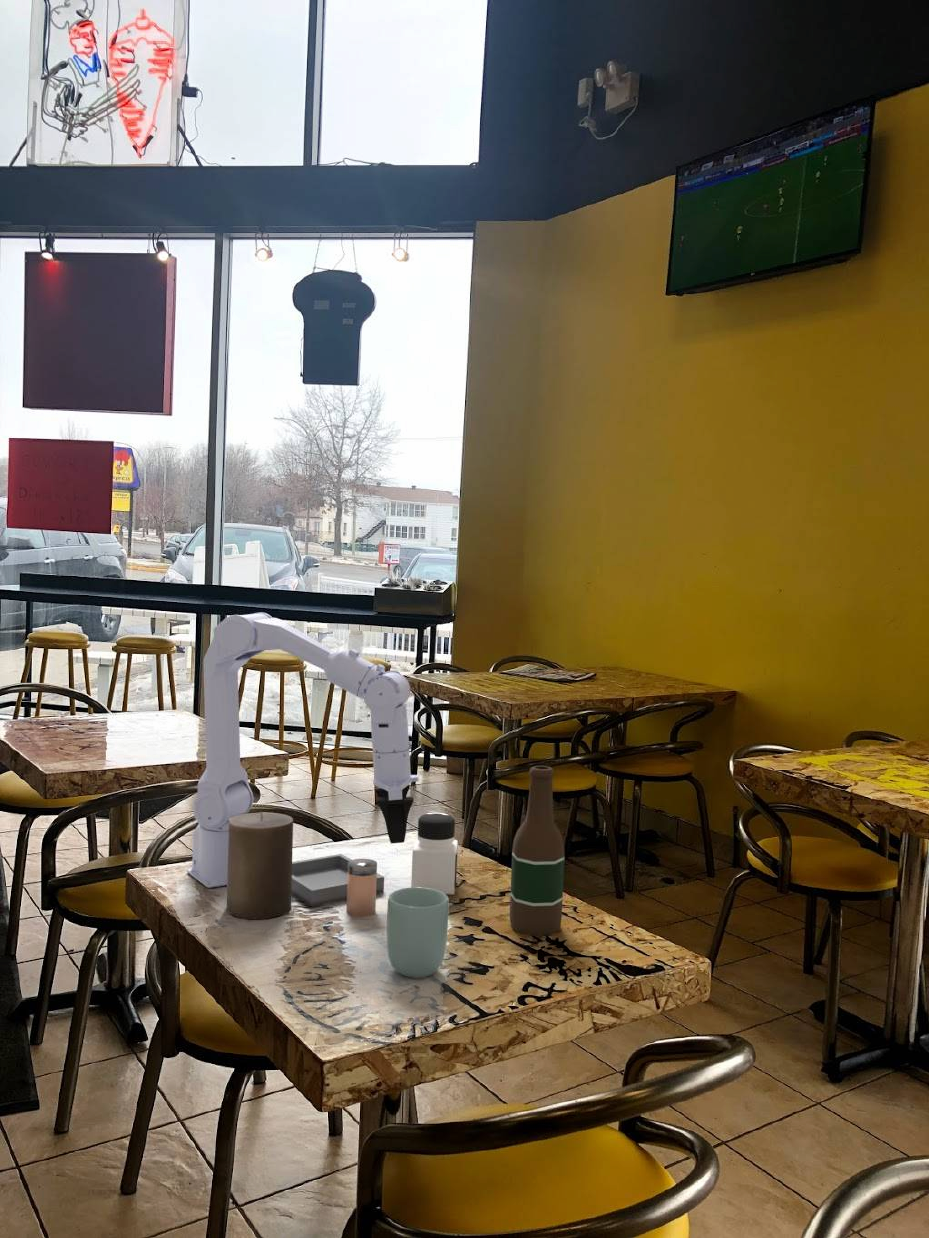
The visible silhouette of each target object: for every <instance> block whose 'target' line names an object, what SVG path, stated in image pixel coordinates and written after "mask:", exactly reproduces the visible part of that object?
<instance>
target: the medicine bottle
mask: <svg viewBox="0 0 929 1238" xmlns="http://www.w3.org/2000/svg"><path fill="white" fill-rule="evenodd" d="M417 823H418V824H417V838H415V840H414V844H413V849H412V856H411V857H412V858H411V859H412V860H411V881H410V882H411V883H410V884H411V886H410V888H411V887H423V888H430V889H434V890H438V891H440V892H443V893H444V894H446V895H447V896H448V895H451V896H452V895H455V894H456V890H457V889H456V888H457V886H456V885H457V875H458V874H457V871H458V868H457V867H458V866H457V865H458V851H459V850H458V845H459V841H458V840H457V839H455V833H456V832H455V829H456V819H455V818H454V817H453V816H452V815H449V814H447V813H444V812H428V813H425V814H423V815H421V816H419V818H418V820H417Z"/></svg>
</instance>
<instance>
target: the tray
mask: <svg viewBox="0 0 929 1238" xmlns="http://www.w3.org/2000/svg"><path fill="white" fill-rule="evenodd" d="M351 860H353V859H352V858H350V857H348V856H346V855H345V854H342V853H339V854H334V855H325V856H321V857H320V856H319V857H315V858H309V859H303V860H298V861H297V860H296V861H292V892H291V895H293V896H295V897H296V898H297V899H299V900H301V901H302V902H304V903H305V904H307V905H308V906H310V907H316V906H321V905H326V904H331V903H337V902H341V901H347V878H348V862H349V861H351ZM384 892H385V876H383V875H381V874H380V873H378V872H377V880H376V895H377V894H382V893H384Z"/></svg>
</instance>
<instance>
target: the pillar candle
mask: <svg viewBox="0 0 929 1238" xmlns="http://www.w3.org/2000/svg"><path fill="white" fill-rule="evenodd" d="M293 838H294V819H293V817H292V816H290V815H287V814H284V813H283V814H282V813H277V812H263V811H260V812H251V813H249V812H248V813H246V814H242V815H238V816H235V817H233V818H230V819H229V838H228V839H229V841H228V865H227V868H228V871H227V885H226V911H227V913H229V915H232V916H234V917H238V918H243V919H246V920H247V919H250V920H265V919H272V918H275V917H281V916H283V915H286V914H287V913H289V912H290V910H291V909H292V893H291V892H292V862H293V846H294V845H293V843H294V842H293V840H294V839H293Z"/></svg>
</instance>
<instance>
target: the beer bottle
mask: <svg viewBox="0 0 929 1238" xmlns="http://www.w3.org/2000/svg"><path fill="white" fill-rule="evenodd" d="M528 775H530V781H529V791H528V792H529V793H528V800H527V811H526V813H525V814H526V815H525V819H524V821H523V822H522V823H521V825H520V826H519V828H517V831H516V833H515V835H514V838H513V842H512V843H513V844H512V850H511V851H512V853H511V870H510V871H511V872H510V873H511V874H510V875H511V876H510V892H509V893H510V897H509V922H510V925H511V926H512V928H513V929H514V931H515V932H518V933H522V934H525V935H528V936H533V937H534V936H551V935H552V934H554V933H555V932H557V931H559V930H560V929H561V926H562V925H561V924H562V917H563V901H564V900H563V899H564V896H563V895H564V876H565V875H564V873H565V843H564V839H563V837H562V833H561V831H560V830H559V828H558V826H557V824H556V823H555V818H554V801H553V800H554V799H553V797H554V796H553V777H555V772H554V769H553V768H552V767H550V766H547V765H534V766H532V767H530V768H529V772H528Z"/></svg>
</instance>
